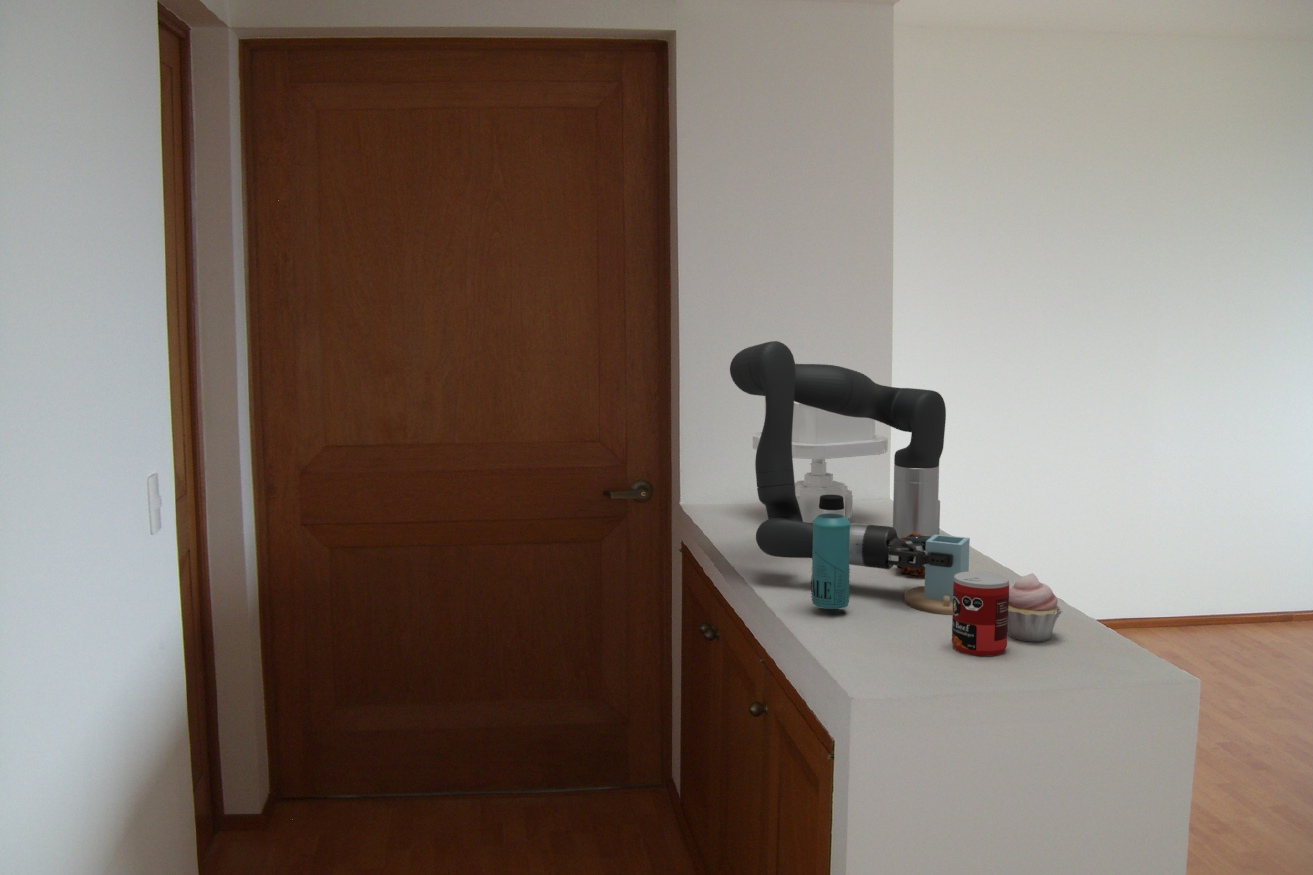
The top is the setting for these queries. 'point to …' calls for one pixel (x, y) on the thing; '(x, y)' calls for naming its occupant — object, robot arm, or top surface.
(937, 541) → the blue pencil cup
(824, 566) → the beverage bottle
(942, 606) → the post plate
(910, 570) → the dragon fruit
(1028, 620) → the cupcake
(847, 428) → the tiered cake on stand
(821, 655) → the top surface
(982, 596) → the canned food
